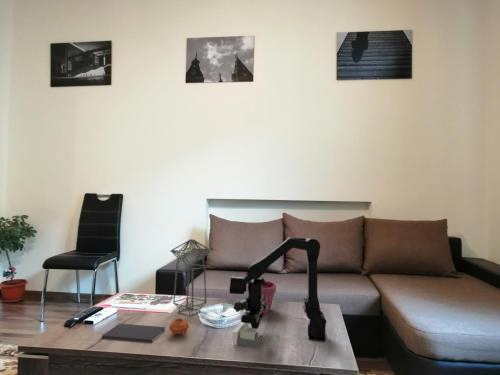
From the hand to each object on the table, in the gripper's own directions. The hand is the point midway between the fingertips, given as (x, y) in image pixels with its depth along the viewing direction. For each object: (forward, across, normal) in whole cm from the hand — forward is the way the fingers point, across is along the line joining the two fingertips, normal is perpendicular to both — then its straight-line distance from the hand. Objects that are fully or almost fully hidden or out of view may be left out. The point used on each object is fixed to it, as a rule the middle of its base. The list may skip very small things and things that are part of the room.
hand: (254, 333), depth 138 cm
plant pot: (+1, -30, -5) cm, 31 cm away
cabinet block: (+1, +8, 0) cm, 8 cm away
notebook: (+2, +14, -47) cm, 49 cm away
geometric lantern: (+1, -18, -37) cm, 41 cm away
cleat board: (+1, +4, 0) cm, 4 cm away
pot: (+1, +9, -30) cm, 31 cm away
